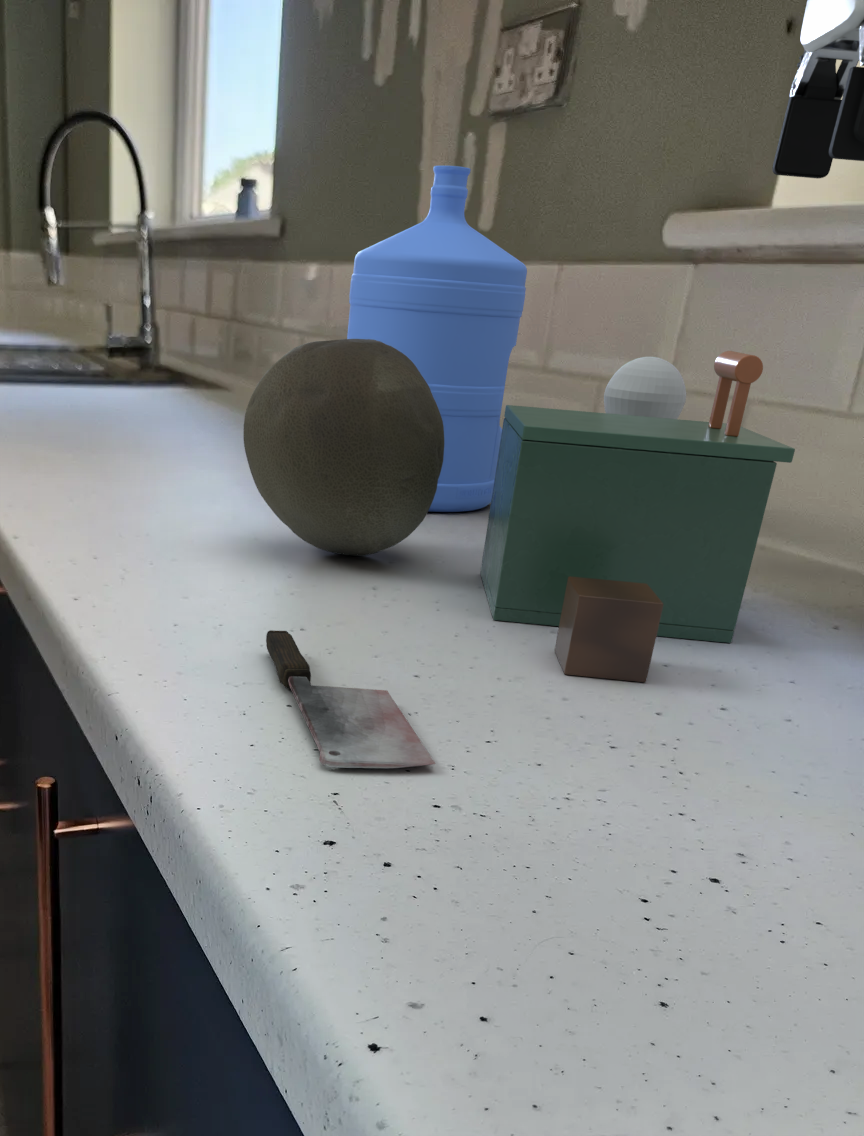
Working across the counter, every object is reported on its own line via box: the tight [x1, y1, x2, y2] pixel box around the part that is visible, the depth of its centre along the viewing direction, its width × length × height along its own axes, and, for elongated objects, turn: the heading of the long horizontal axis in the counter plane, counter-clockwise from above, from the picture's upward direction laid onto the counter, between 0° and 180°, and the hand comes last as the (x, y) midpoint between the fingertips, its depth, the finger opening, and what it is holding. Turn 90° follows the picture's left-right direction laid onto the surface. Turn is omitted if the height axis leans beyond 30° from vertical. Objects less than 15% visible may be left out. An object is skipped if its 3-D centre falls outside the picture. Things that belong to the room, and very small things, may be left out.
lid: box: [503, 350, 796, 464], centre depth 70 cm, size 15×13×5 cm
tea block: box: [554, 576, 664, 683], centre depth 62 cm, size 4×4×4 cm
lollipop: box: [603, 356, 687, 419], centre depth 87 cm, size 6×6×15 cm
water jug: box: [346, 165, 528, 513], centre depth 103 cm, size 16×16×28 cm
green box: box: [479, 417, 778, 644], centre depth 73 cm, size 15×13×11 cm
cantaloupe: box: [243, 338, 444, 557], centre depth 81 cm, size 14×14×15 cm
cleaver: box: [265, 629, 436, 769], centre depth 54 cm, size 16×1×5 cm
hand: (827, 168), depth 63 cm, fingers open, 9 cm apart
